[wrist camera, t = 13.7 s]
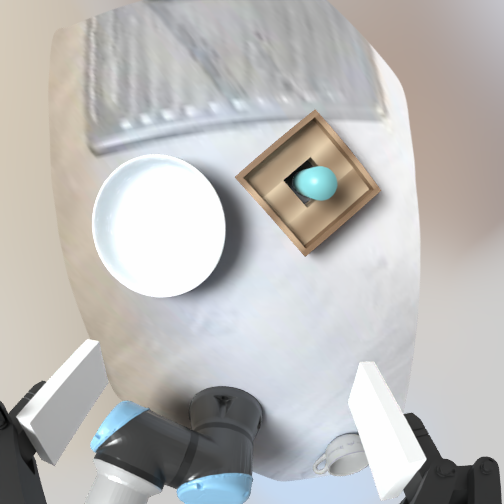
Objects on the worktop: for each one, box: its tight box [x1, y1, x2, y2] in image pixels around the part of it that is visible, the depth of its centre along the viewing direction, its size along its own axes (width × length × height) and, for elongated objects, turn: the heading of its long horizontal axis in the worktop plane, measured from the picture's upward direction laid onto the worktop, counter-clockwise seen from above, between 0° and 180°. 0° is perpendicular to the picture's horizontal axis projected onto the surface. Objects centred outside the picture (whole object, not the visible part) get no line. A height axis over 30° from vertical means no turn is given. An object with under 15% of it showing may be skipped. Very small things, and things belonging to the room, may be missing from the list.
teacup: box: [313, 434, 369, 476], centre depth 54 cm, size 14×11×8 cm
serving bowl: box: [92, 154, 226, 297], centre depth 43 cm, size 21×21×7 cm
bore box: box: [235, 110, 381, 257], centre depth 42 cm, size 15×15×6 cm
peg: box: [292, 166, 337, 201], centre depth 39 cm, size 4×4×12 cm
